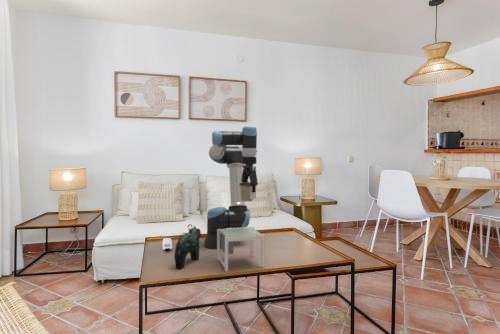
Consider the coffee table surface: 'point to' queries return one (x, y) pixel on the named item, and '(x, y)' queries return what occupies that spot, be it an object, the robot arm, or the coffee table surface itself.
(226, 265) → the frame
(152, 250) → the coffee table surface
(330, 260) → the coffee table surface
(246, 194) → the flower pot
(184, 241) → the dark green animal figurine
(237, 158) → the robot arm
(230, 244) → the grey l-shaped slab
